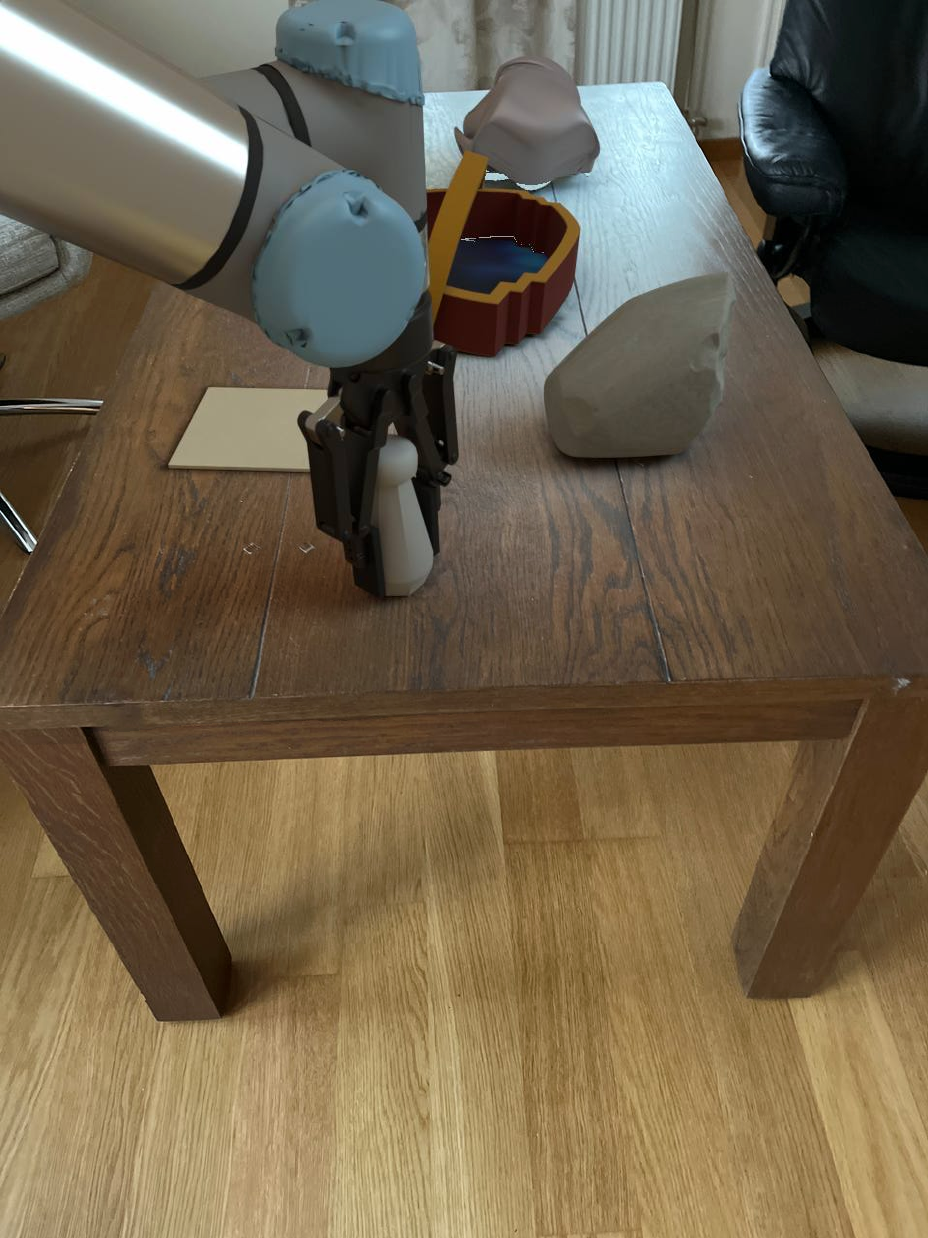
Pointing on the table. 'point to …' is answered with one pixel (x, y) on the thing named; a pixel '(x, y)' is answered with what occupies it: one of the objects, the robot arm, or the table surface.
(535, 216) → the decorative basket
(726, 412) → the table surface
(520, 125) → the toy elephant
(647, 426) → the decorative stone
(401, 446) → the salt shaker
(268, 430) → the placemat
